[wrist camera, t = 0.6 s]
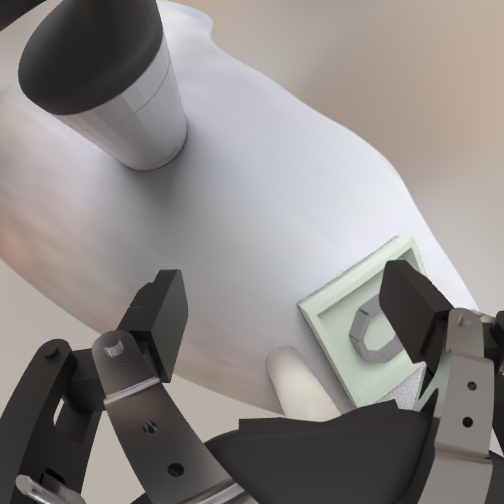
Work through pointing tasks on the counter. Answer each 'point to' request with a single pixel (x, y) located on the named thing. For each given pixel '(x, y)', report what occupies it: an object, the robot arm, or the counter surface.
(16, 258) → the counter surface
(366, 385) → the sage box
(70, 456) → the robot arm
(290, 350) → the white cylinder
